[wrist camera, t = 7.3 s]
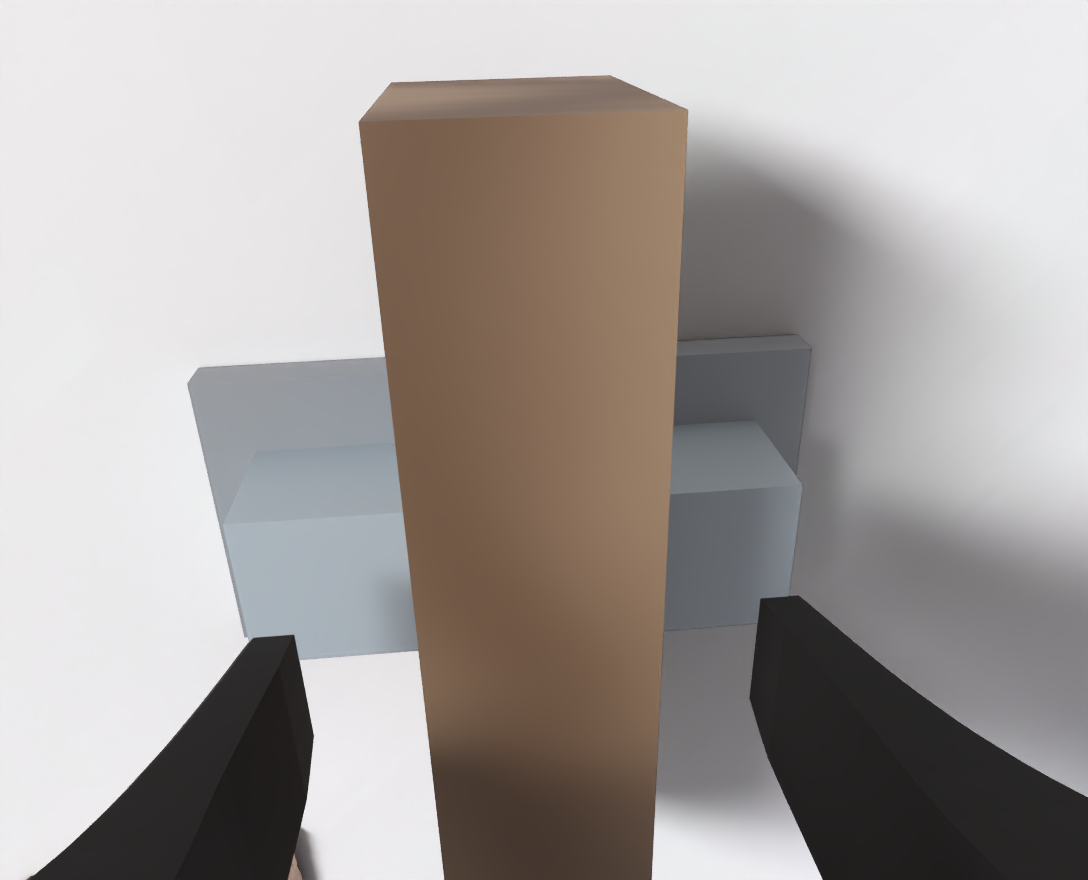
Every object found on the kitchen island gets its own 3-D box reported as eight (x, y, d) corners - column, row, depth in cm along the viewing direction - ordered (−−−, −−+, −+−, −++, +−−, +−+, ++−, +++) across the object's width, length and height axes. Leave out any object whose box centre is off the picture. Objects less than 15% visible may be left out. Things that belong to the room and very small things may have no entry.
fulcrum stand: (797, 334, 18) (870, 404, 15) (770, 575, 20) (827, 677, 17) (198, 367, 17) (141, 449, 14) (251, 614, 20) (214, 728, 17)
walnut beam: (610, 75, 12) (688, 109, 8) (602, 858, 19) (641, 1084, 15) (391, 82, 12) (358, 121, 8) (466, 872, 19) (469, 1103, 15)
